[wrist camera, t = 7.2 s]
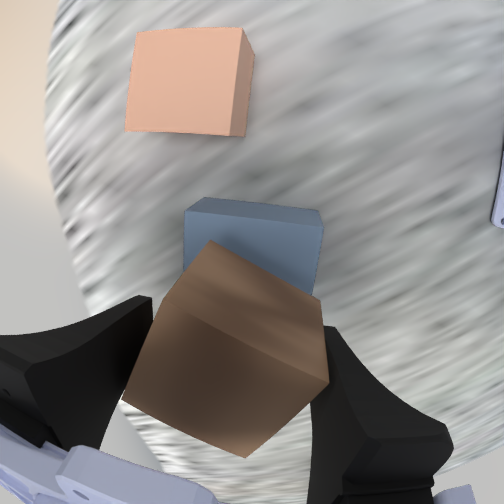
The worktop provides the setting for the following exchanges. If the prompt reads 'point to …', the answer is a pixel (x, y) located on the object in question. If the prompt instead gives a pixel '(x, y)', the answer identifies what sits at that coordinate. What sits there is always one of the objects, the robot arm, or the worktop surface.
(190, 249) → the blue block
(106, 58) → the worktop surface
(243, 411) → the walnut block
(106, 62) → the worktop surface
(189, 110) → the peach block
